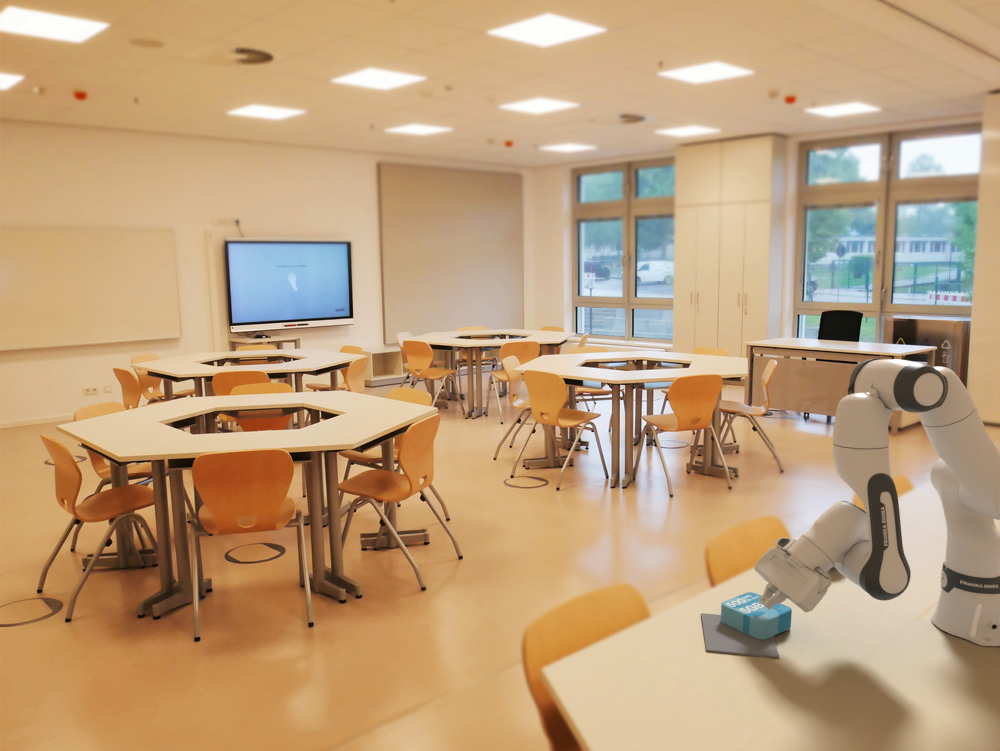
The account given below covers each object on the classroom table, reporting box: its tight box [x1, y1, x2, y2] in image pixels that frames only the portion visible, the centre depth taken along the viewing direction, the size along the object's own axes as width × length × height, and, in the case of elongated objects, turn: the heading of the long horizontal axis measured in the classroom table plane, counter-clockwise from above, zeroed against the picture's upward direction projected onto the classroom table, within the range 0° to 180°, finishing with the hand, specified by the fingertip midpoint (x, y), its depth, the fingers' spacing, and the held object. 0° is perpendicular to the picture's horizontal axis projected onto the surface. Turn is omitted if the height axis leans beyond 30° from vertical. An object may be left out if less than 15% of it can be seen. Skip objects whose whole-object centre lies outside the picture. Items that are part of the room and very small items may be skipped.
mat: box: [700, 612, 781, 659], centre depth 173 cm, size 15×18×1 cm
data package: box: [720, 591, 793, 640], centre depth 178 cm, size 12×4×12 cm
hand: (763, 604), depth 168 cm, fingers closed
